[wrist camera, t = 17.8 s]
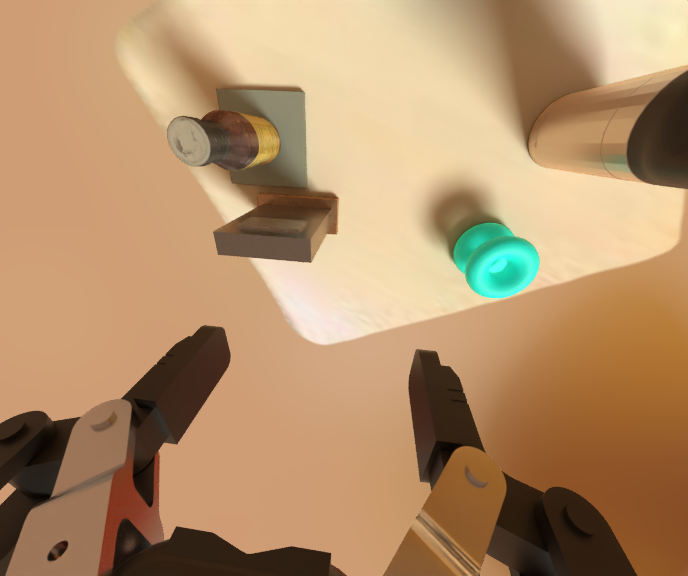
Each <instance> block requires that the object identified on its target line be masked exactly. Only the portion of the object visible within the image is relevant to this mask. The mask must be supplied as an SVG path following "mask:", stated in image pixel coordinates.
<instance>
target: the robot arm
mask: <svg viewBox="0 0 688 576" xmlns="http://www.w3.org/2000/svg"><path fill="white" fill-rule="evenodd" d="M528 147H529V153H530V155H531V157H532V159H533V160H534V161H535V163H537V164H538V165H540V166H542V167H545V168H550V169H556V170H562V171H568V172H575V173H581V174H588V175H594V176H601V177H607V178H614V179H620V180H627V181H635V182H641V183H648V184H653V185H660V186H667V187H675V188H683V189H688V65H684V66H681V67H677V68H673V69H669V70H665V71H661V72H657V73H653V74H649V75H645V76H641V77H636V78H632V79H628V80H624V81H620V82H616V83H612V84H608V85H604V86H600V87H596V88H591V89H587V90H583V91H579V92H575V93H571V94H568V95H565V96H563V97H561V98H559V99H557V100H556V101H554V102H553V103H551V104H550V105H549V106H548V107H547V108H545V110H544V111H543V112H542V113H541V114H540V115H539V117H538V118H537V120H536V121H535V123H534V125H533V127H532V129H531V132H530V136H529V143H528ZM229 363H230V350H229V346H228V342H227V338H226V334H225V330H224V329H223V328H222V327H215V326H206V325H204V326H202V327H200V329H198V330H197V331H196V333H195V334H194V335H193V336H192V337H191V336H188V337H187V338H185V339H183V340H182V341H180V342H178V343H177V344H175V345H174V346H173V347H172V348H171V349H170V350H169V351H168V352H167V353H166V356H163V357H162V358H161V359H160V360H159V361H158V362H157V365H154V367H152V368H151V369H150V370H149V371H148V372H147V373H146V375H144V377H142V378H141V379H140V381H138V382H137V383H136V384H135V385H134V386H133V387H132V388H131V390H129V391H128V393H126V394H125V395H124V396H123V397H122V398H121V399H116V400H111V401H107V402H104V403H102V404H100V405H98V406H96V407H94V408H92V409H91V410H89V411H88V412H87V413H85V414H84V415H83V416H82V417H77V418H71V419H65V420H58V421H52V420H51V419H50V418H49V417H48V416H47V414H46V413H44V412H42V411H31V412H27V413H23V414H20V415H17V416H14V417H12V418H10V419H8V420H6V421H4V422H2V423H1V424H0V490H1V489H2V488H3V487H4V486H5V485H6V484H7V483H10V484H11V485H12V486H13V487H15V488H16V490H15V491H14V492H13V493H12V494H11V495H10V496H9V497H8V498H7V499H6V500H5V501H4V502H3V503H2V504H1V505H0V576H346V575H345V574H344V573H343V572H342V571H341V570H339V569H338V568H336V567H335V566H333V565H331V553H327V552H321V551H315V550H310V549H304V548H298V547H292V546H291V547H286V548H281V549H275V550H270V551H265V552H259V553H254V554H246V553H244V552H242V551H240V550H239V549H237V548H236V547H234V546H233V545H231V544H230V543H228V542H227V541H225V540H223V539H222V538H220V537H219V536H217V535H216V534H214V533H211V532H206V531H200V530H194V529H188V528H182V527H176V528H175V530H174V532H173V534H172V536H171V538H170V539H168V540H165V541H164V533H163V527H162V523H161V520H160V516H159V463H160V461H159V460H160V456H159V452H158V450H159V449H160V447H161V446H162V444H163V443H171V444H178V442H179V441H180V439H181V438H182V436H183V434H184V433H185V432H186V430H187V429H188V427H189V425H190V424H191V422H192V421H193V419H194V418H195V416H196V415H197V413H198V412H199V410H200V409H201V407H202V406H203V404H204V403H205V401H206V400H207V398H208V397H209V395H210V394H211V392H212V391H213V389H214V388H215V386H216V385H217V383H218V382H219V380H220V379H221V377H222V376H223V374H224V372H225V371H226V370H227V368H228V366H229ZM409 397H410V405H411V413H412V421H413V429H414V435H415V436H414V437H415V444H416V452H417V459H418V468H419V476H420V482H427V483H430V486H431V493H430V495H429V497H428V499H427V500H426V502H425V504H424V506H423V508H422V509H421V511H420V513H419V515H418V516H417V517H416V519H415V520H414V522H413V523H412V525H411V527H410V529H409V530H408V532H407V534H406V536H405V538H404V540H403V541H402V543H401V545H400V546H399V549H398V550H397V552H396V554H395V555H394V557H393V559H392V561H391V563H390V565H389V566H388V568H387V570H386V571H385V573H384V575H383V576H480V570H481V567H482V564H483V561H484V558H485V555H486V554H488V555H490V556H491V557H493V558H495V559H497V560H498V561H500V562H502V563H503V564H505V565H507V566H509V570H510V573H511V576H637V574H636V573H635V571H634V569H633V567H632V565H631V564H630V562H629V560H628V559H627V556H626V555H625V553H624V551H623V549H622V547H621V546H620V544H619V542H618V540H617V539H616V537H615V535H614V533H613V532H612V530H611V528H610V526H609V525H608V523H607V521H606V520H605V519H604V517H603V516H602V515H601V514H600V513H599V511H598V510H597V509H596V508H595V507H594V506H593V505H591V503H589V502H588V501H587V500H586V499H584V498H583V497H581V496H580V495H578V494H577V493H575V492H573V491H571V490H569V489H566V488H562V487H552V488H549V489H548V490H547V491H546V492H545V493H543V492H541V491H539V490H537V489H535V488H533V487H530V486H528V485H526V484H524V483H522V482H520V481H517V480H515V479H514V478H512V477H510V476H508V475H507V474H505V473H504V472H503V471H501V469H500V468H499V466H498V465H497V463H496V462H495V461H494V460H493V459H492V458H491V457H490V456H489V455H487V454H486V452H485V450H484V448H483V445H482V443H481V440H480V437H479V434H478V431H477V428H476V425H475V422H474V419H473V417H472V414H471V411H470V408H469V405H468V404H467V399H466V397H465V394H464V393H463V388H462V385H461V382H460V379H459V377H458V376H457V375H456V374H455V372H454V371H453V370H452V369H451V367H449V366H441V364H440V361H439V357H438V354H437V352H436V351H428V350H419V349H417V350H416V352H415V355H414V359H413V363H412V367H411V371H410V375H409Z"/></svg>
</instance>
